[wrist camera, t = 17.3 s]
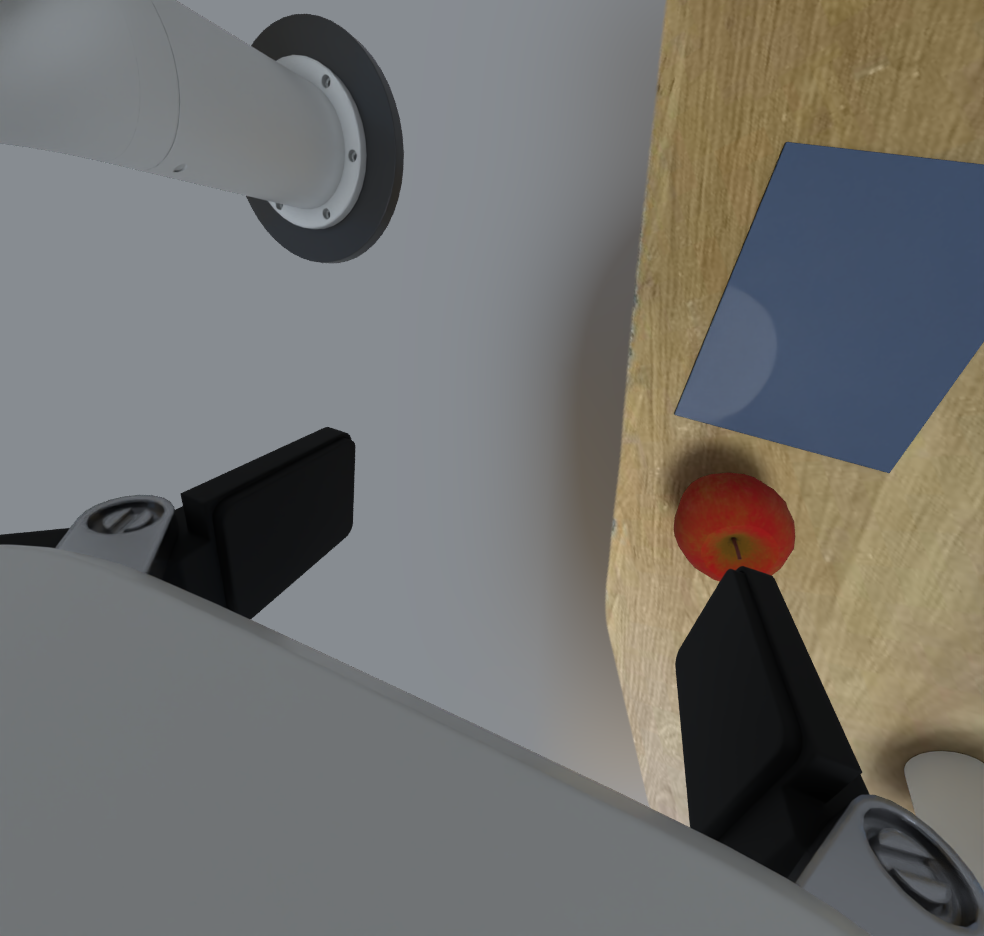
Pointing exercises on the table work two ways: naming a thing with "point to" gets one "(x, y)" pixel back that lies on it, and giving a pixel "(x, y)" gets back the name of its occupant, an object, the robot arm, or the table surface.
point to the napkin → (847, 304)
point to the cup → (951, 802)
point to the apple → (733, 525)
